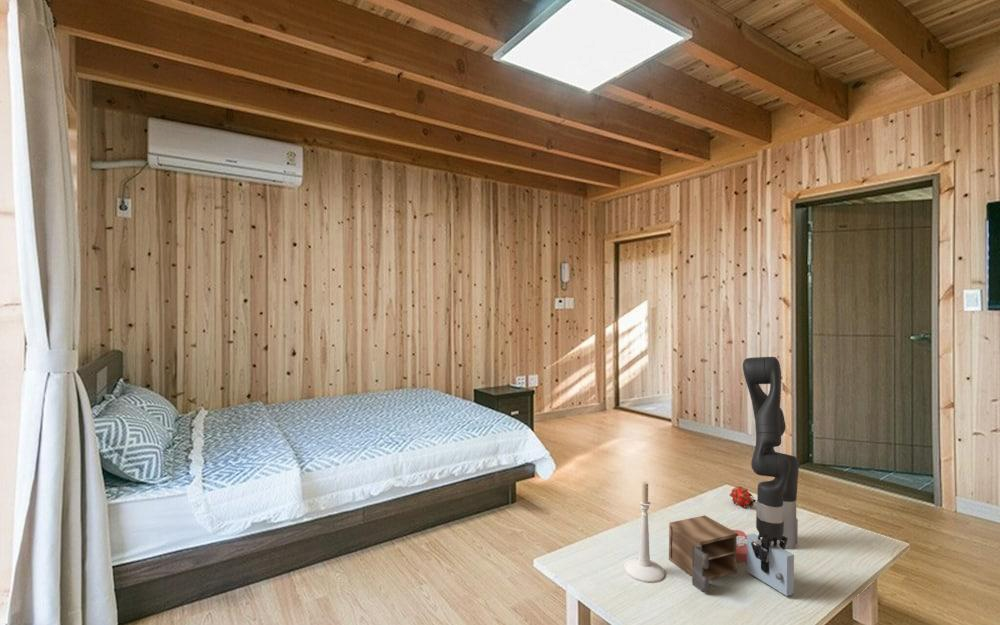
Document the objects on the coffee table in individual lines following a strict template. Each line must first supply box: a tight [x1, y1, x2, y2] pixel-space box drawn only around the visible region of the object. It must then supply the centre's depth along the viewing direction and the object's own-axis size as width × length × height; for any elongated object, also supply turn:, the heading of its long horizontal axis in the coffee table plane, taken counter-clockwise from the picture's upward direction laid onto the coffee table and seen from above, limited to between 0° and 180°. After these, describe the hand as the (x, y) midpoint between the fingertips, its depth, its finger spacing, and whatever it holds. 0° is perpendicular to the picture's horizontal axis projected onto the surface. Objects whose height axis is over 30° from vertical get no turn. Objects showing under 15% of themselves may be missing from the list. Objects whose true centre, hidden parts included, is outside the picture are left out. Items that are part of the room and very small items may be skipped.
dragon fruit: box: [729, 486, 756, 509], centre depth 205 cm, size 8×8×12 cm
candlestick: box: [623, 481, 666, 584], centre depth 154 cm, size 13×13×30 cm
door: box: [746, 533, 795, 597], centre depth 147 cm, size 4×14×12 cm, turn 22°
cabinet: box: [668, 514, 738, 593], centre depth 154 cm, size 20×20×13 cm
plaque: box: [732, 529, 748, 563], centre depth 169 cm, size 18×4×15 cm
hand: (769, 570), depth 147 cm, fingers closed on door, 3 cm apart
